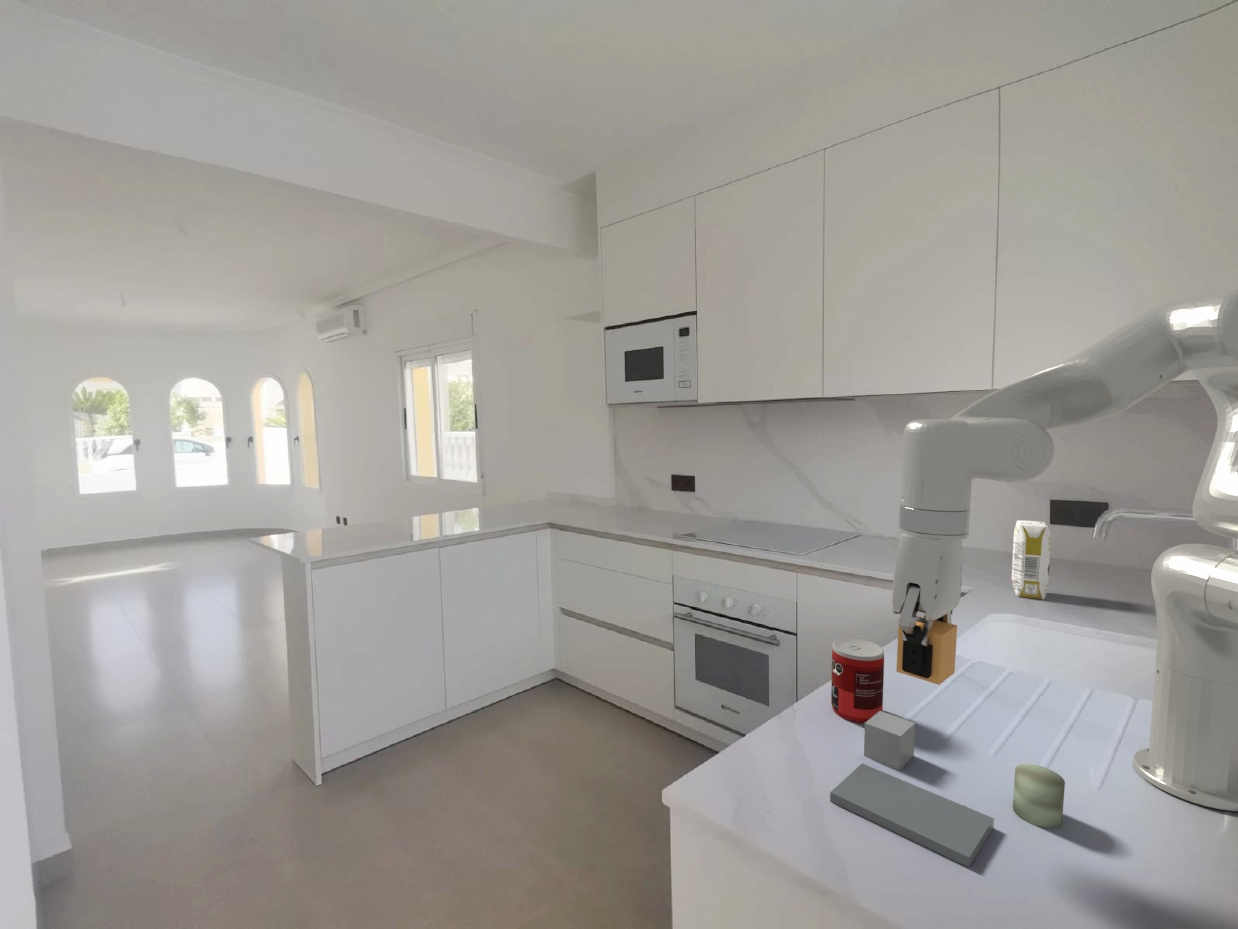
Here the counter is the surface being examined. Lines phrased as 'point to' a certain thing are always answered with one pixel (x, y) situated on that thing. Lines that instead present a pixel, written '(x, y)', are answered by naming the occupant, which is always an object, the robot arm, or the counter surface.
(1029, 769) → the sage cylinder
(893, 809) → the slate board
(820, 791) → the counter surface
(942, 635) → the orange block
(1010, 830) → the counter surface
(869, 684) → the canned food
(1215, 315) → the robot arm
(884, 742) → the grey block
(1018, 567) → the juice carton
